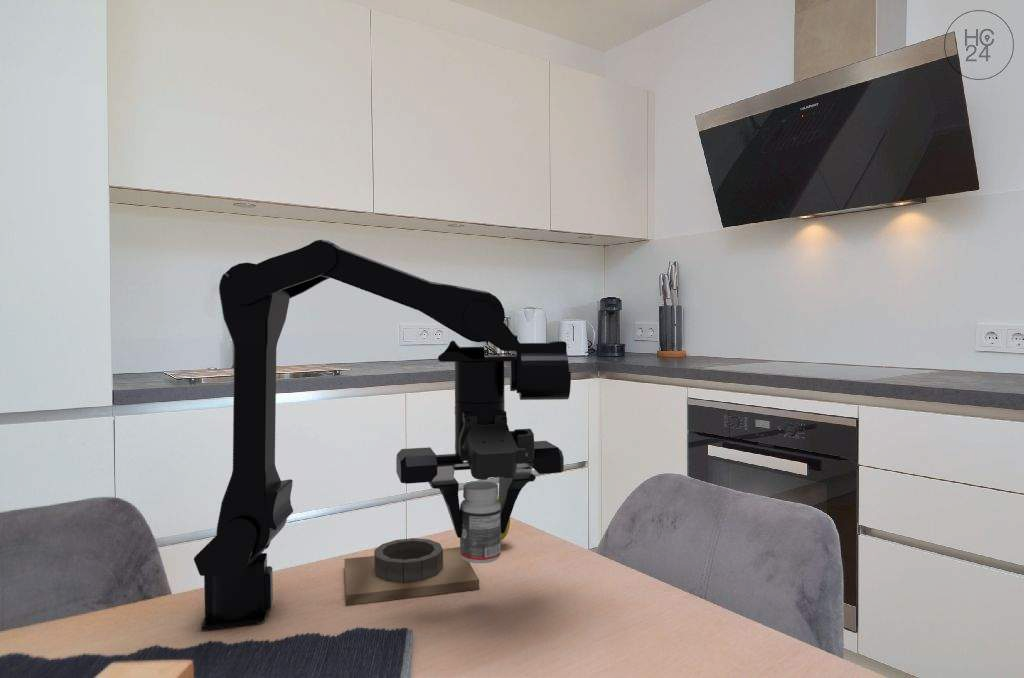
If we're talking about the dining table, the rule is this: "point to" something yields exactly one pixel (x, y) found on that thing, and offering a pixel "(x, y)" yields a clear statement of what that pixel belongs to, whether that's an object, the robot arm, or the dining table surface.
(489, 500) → the pill bottle
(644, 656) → the dining table surface
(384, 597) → the socket board
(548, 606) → the dining table surface
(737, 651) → the dining table surface
